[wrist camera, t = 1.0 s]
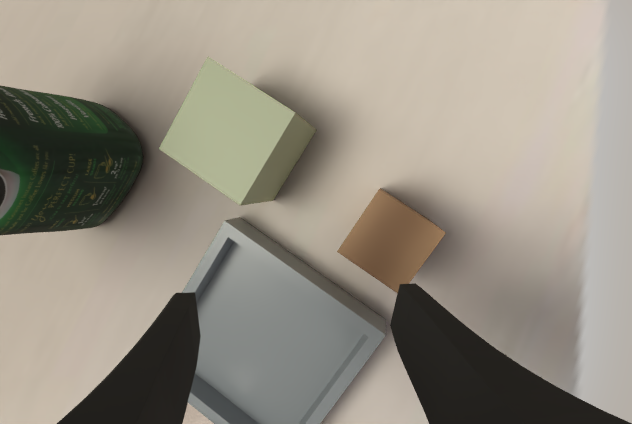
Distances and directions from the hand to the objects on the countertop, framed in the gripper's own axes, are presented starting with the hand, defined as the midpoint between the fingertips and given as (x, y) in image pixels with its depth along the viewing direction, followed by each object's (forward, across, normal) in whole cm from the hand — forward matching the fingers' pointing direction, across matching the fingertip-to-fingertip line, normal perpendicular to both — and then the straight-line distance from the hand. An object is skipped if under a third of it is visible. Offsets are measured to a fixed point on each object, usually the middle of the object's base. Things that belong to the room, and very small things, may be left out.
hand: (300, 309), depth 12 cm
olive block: (+16, +1, -1) cm, 16 cm away
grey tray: (+10, +1, +12) cm, 16 cm away
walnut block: (+10, -7, +3) cm, 13 cm away
